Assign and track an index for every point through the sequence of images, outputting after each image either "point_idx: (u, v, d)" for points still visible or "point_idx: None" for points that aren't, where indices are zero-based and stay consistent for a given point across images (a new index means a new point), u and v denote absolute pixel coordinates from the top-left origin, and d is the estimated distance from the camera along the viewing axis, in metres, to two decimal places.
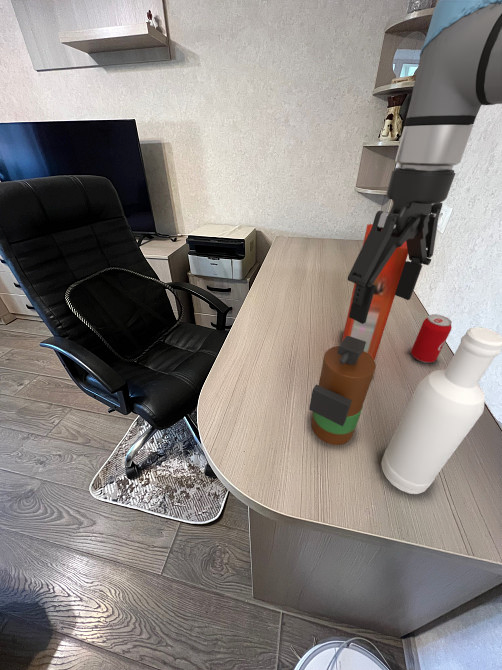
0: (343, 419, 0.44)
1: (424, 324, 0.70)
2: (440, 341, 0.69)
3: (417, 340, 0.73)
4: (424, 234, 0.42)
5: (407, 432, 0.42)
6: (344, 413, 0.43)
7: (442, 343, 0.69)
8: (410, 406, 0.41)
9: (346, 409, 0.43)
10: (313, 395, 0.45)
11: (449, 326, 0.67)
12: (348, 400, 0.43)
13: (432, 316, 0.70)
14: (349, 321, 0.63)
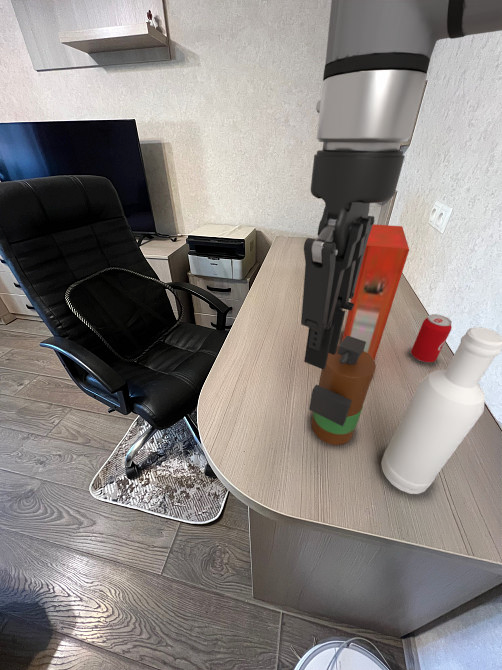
0: (343, 419, 0.44)
1: (424, 324, 0.70)
2: (440, 341, 0.69)
3: (417, 340, 0.73)
4: (360, 252, 0.29)
5: (407, 432, 0.42)
6: (344, 413, 0.43)
7: (442, 343, 0.69)
8: (410, 406, 0.41)
9: (346, 409, 0.43)
10: (313, 395, 0.45)
11: (449, 326, 0.67)
12: (348, 400, 0.43)
13: (432, 316, 0.70)
14: (349, 321, 0.63)
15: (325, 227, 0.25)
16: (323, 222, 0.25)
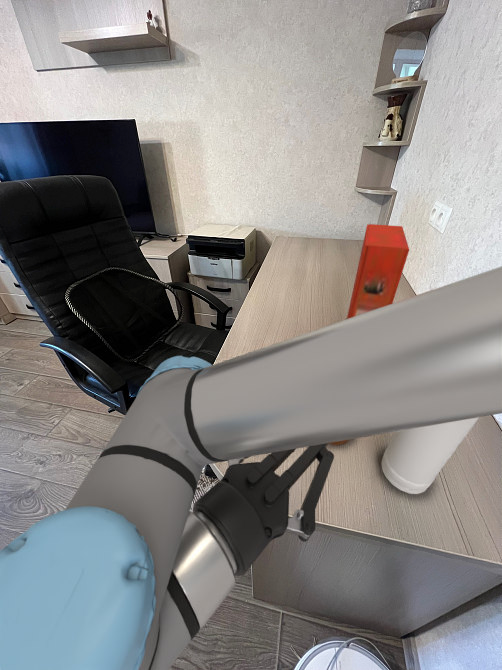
0: None
1: None
2: None
3: None
4: (271, 462, 0.32)
5: (407, 432, 0.42)
6: None
7: None
8: None
9: None
10: None
11: None
12: None
13: None
14: None
15: None
16: None
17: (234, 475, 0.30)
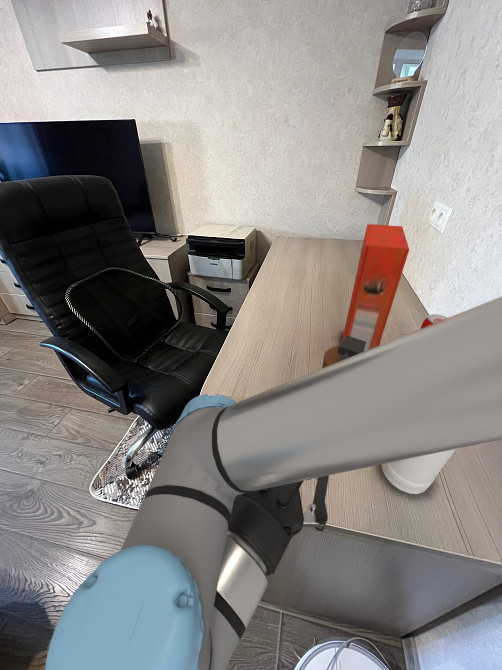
0: None
1: (424, 324, 0.70)
2: None
3: None
4: None
5: None
6: None
7: None
8: None
9: None
10: None
11: None
12: None
13: (432, 316, 0.70)
14: (349, 321, 0.63)
15: None
16: (299, 531, 0.31)
17: None
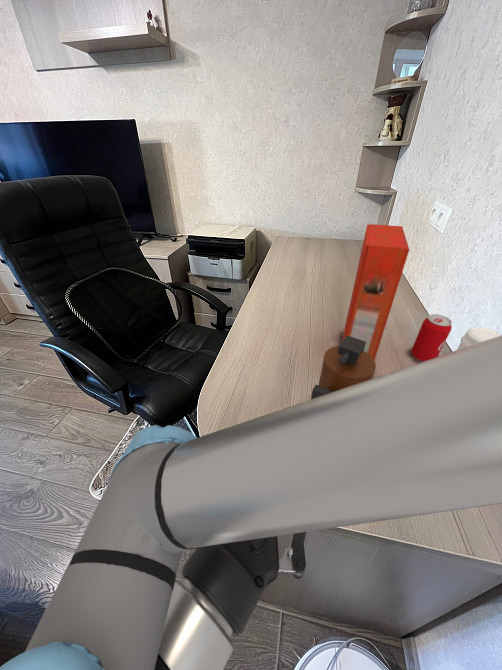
0: None
1: (424, 324, 0.70)
2: (440, 341, 0.69)
3: (417, 340, 0.73)
4: None
5: None
6: None
7: (442, 343, 0.69)
8: None
9: None
10: (313, 395, 0.45)
11: (449, 326, 0.67)
12: None
13: (432, 316, 0.70)
14: (349, 321, 0.63)
15: (277, 575, 0.28)
16: (274, 579, 0.28)
17: None
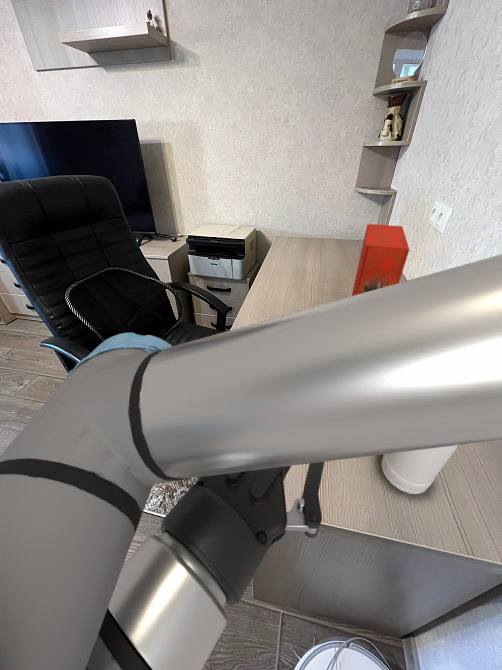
0: None
1: None
2: None
3: None
4: None
5: None
6: None
7: None
8: None
9: None
10: None
11: None
12: None
13: None
14: None
15: None
16: (281, 537, 0.22)
17: (210, 475, 0.24)
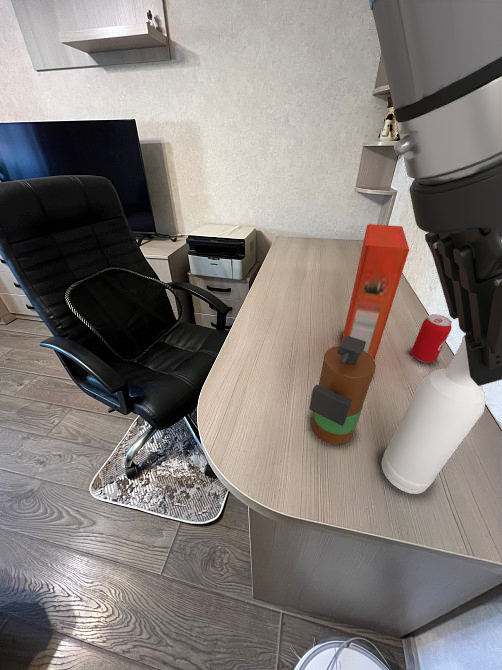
0: (343, 419, 0.44)
1: (424, 324, 0.70)
2: (440, 341, 0.69)
3: (417, 340, 0.73)
4: None
5: (408, 431, 0.42)
6: (344, 413, 0.43)
7: (442, 343, 0.69)
8: (411, 405, 0.41)
9: (346, 409, 0.43)
10: (313, 395, 0.45)
11: (449, 326, 0.67)
12: (348, 400, 0.43)
13: (432, 316, 0.70)
14: (349, 321, 0.63)
15: None
16: (500, 248, 0.19)
17: None
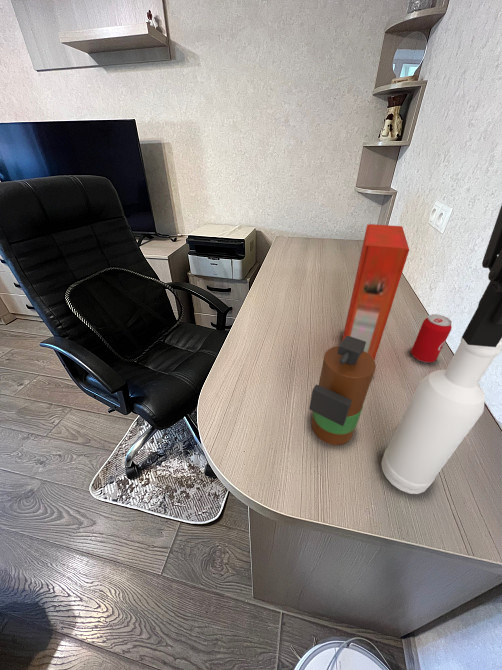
0: (343, 419, 0.44)
1: (424, 324, 0.70)
2: (440, 341, 0.69)
3: (417, 340, 0.73)
4: None
5: (407, 432, 0.42)
6: (344, 413, 0.43)
7: (442, 343, 0.69)
8: (410, 406, 0.41)
9: (346, 409, 0.43)
10: (313, 395, 0.45)
11: (449, 326, 0.67)
12: (348, 400, 0.43)
13: (432, 316, 0.70)
14: (349, 321, 0.63)
15: None
16: None
17: None
